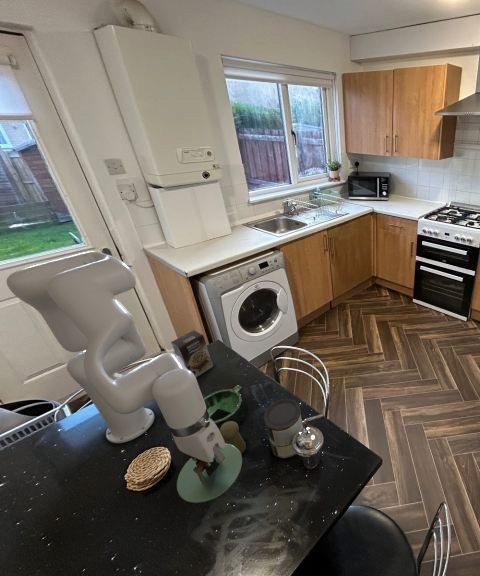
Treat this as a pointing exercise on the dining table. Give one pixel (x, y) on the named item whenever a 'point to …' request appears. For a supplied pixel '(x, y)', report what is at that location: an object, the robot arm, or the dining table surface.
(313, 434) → the cup with straw
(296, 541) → the dining table surface
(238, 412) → the pot
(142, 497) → the dining table surface
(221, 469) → the lid
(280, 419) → the coffee can
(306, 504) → the dining table surface
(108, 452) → the dining table surface
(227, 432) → the cork
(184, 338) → the coffee box
